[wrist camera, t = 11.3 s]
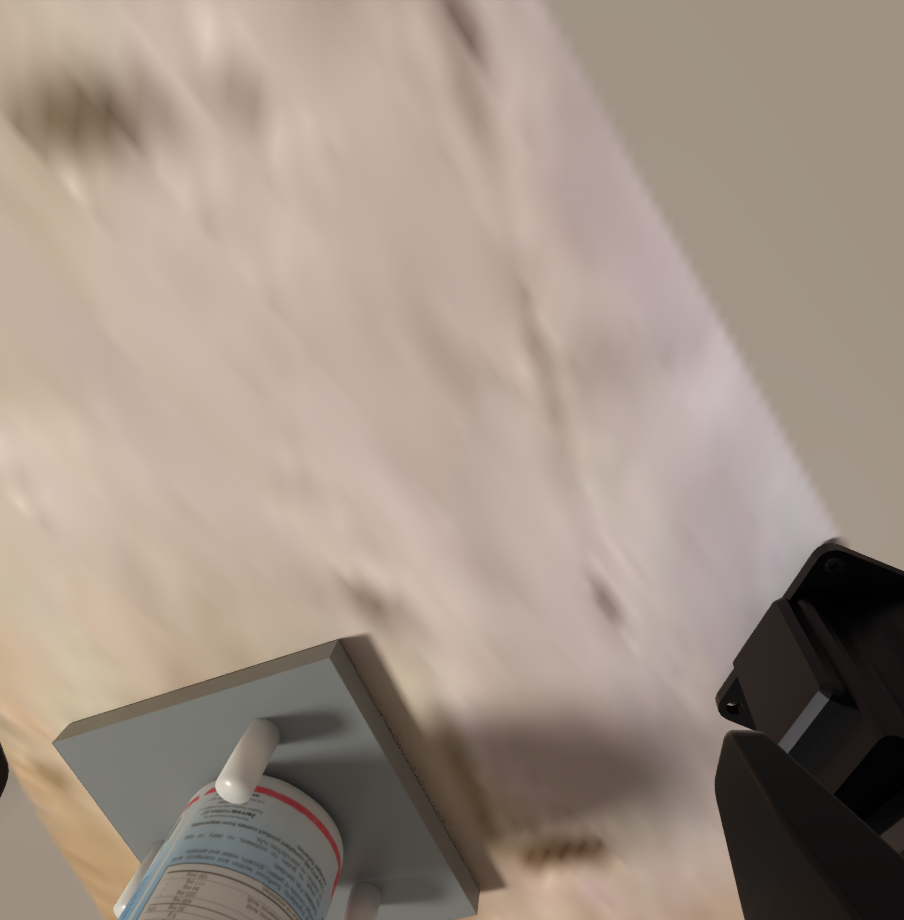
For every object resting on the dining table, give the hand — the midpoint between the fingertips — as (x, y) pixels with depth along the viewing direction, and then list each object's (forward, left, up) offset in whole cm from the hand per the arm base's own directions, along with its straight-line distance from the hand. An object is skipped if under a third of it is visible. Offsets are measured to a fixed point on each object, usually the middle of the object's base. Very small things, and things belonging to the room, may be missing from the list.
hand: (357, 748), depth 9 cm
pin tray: (+1, +17, -13) cm, 21 cm away
